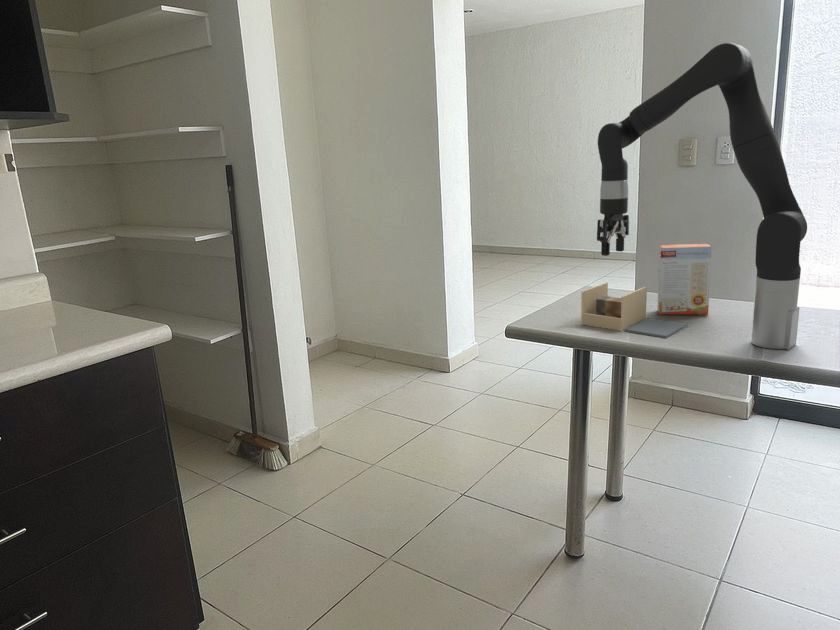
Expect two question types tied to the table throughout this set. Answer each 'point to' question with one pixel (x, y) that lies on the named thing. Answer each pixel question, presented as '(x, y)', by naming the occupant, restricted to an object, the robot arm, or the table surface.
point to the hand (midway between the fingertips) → (612, 253)
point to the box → (608, 306)
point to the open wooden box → (630, 308)
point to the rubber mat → (656, 327)
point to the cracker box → (684, 279)
